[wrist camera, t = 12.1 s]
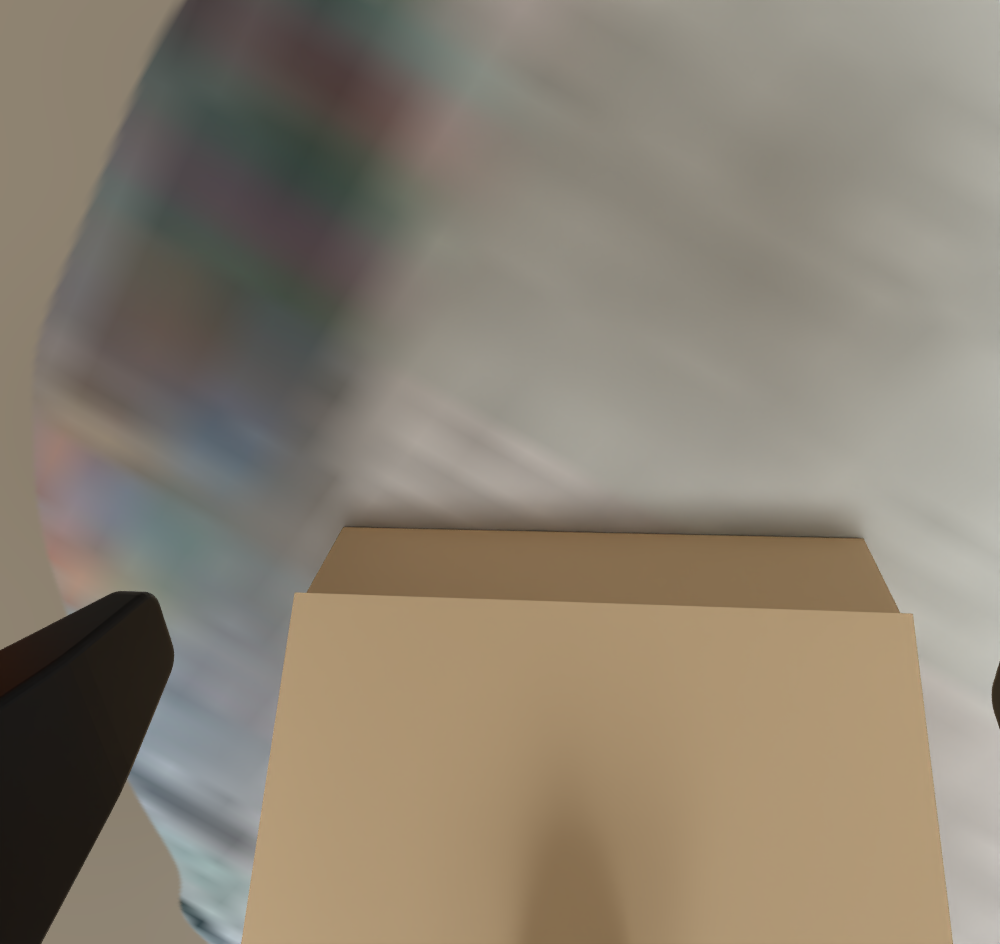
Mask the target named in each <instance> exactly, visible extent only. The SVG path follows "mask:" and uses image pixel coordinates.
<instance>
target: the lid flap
mask: <svg viewBox="0 0 1000 944" xmlns="http://www.w3.org/2000/svg"><path fill="white" fill-rule="evenodd" d="M241 944H953V940H952V932H951V924H950V916H949V907H948V899H947V891H946V883H945V875H944V866H943V858H942V850H941V842H940V834H939V825H938V817H937V809H936V801H935V792H934V784H933V776H932V768H931V760H930V751H929V743H928V735H927V727H926V719H925V710H924V702H923V694H922V686H921V678H920V669H919V661H918V653H917V645H916V636H915V628H914V620H913V614H906V613H877V612H848V611H819V610H790V609H760V608H731V607H702V606H673V605H644V604H614V603H585V602H556V601H527V600H498V599H468V598H439V597H410V596H381V595H352V594H323V593H295V594H294V601H293V607H292V614H291V620H290V627H289V634H288V640H287V647H286V653H285V660H284V666H283V673H282V679H281V686H280V693H279V699H278V706H277V712H276V719H275V725H274V732H273V739H272V745H271V752H270V758H269V765H268V771H267V778H266V785H265V791H264V798H263V804H262V811H261V817H260V824H259V830H258V837H257V844H256V850H255V857H254V863H253V870H252V876H251V883H250V890H249V896H248V903H247V909H246V916H245V922H244V929H243V936H242V942H241Z"/></svg>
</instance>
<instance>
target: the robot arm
mask: <svg viewBox="0 0 1000 944" xmlns="http://www.w3.org/2000/svg"><path fill="white" fill-rule="evenodd" d="M173 662H174V649H173V645H172V642H171V638H170V635H169V632H168V629H167V626H166V623H165V620H164V617H163V614H162V611H161V607H160V604H159V602H158V600H157V599H156V597H155V596H154V595H153V594H151V593H148V592H134V591H118V592H114V593H111V594H109V595H107V596H105V597H103V598H101V599H99V600H97V601H95V602H94V603H92V604H90V605H88V606H86V607H84V608H82V609H80V610H78V611H76V612H74V613H72V614H70V615H68V616H66V617H64V618H62V619H60V620H58V621H56V622H54V623H52V624H50V625H49V626H47V627H45V628H43V629H41V630H39V631H37V632H35V633H33V634H31V635H29V636H27V637H25V638H23V639H21V640H19V641H17V642H16V643H13V644H12V645H9V646H7V647H6V648H4V649H2V650H0V944H41V943H42V941H43V939H44V937H45V936H46V934H47V932H48V930H49V928H50V926H51V924H52V923H53V921H54V919H55V917H56V915H57V913H58V911H59V909H60V907H61V906H62V904H63V902H64V900H65V898H66V896H67V894H68V892H69V890H70V889H71V887H72V885H73V883H74V881H75V879H76V877H77V875H78V873H79V872H80V870H81V868H82V866H83V864H84V862H85V860H86V858H87V857H88V855H89V853H90V851H91V849H92V847H93V845H94V843H95V841H96V840H97V838H98V836H99V834H100V832H101V830H102V828H103V826H104V824H105V823H106V821H107V819H108V817H109V815H110V813H111V811H112V809H113V807H114V805H115V803H116V801H117V799H118V797H119V795H120V793H121V791H122V789H123V787H124V784H125V782H126V780H127V778H128V776H129V773H130V771H131V769H132V766H133V764H134V761H135V759H136V756H137V754H138V752H139V749H140V747H141V744H142V742H143V739H144V737H145V734H146V732H147V730H148V727H149V725H150V722H151V720H152V717H153V715H154V712H155V710H156V708H157V705H158V703H159V700H160V698H161V695H162V693H163V690H164V688H165V685H166V683H167V681H168V678H169V676H170V673H171V670H172V667H173ZM992 704H993V709H994V713H995V716H996V719H997V722H998V725H999V728H1000V663H999V666H998V669H997V673H996V676H995V679H994V682H993V686H992Z"/></svg>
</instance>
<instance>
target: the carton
mask: <svg viewBox="0 0 1000 944" xmlns="http://www.w3.org/2000/svg"><path fill="white" fill-rule="evenodd" d="M307 593H323V594H352V595H381V596H410V597H439V598H468V599H498V600H527V601H556V602H585V603H614V604H644V605H673V606H702V607H731V608H760V609H790V610H819V611H848V612H877V613H900V612H899V610H898V608H897V605H896V603H895V601H894V599H893V597H892V595H891V593H890V591H889V589H888V587H887V585H886V583H885V581H884V579H883V577H882V575H881V573H880V571H879V569H878V567H877V565H876V563H875V561H874V559H873V557H872V555H871V553H870V551H869V549H868V547H867V545H866V543H865V541H864V539H859V538H813V537H768V536H722V535H677V534H631V533H586V532H540V531H495V530H449V529H404V528H358V527H343V529H342V530H341V532H340V534H339V536H338V538H337V539H336V541H335V543H334V545H333V546H332V548H331V550H330V552H329V554H328V555H327V557H326V559H325V561H324V562H323V564H322V566H321V568H320V570H319V571H318V573H317V575H316V577H315V579H314V580H313V582H312V584H311V586H310V587H309V589H308V591H307Z"/></svg>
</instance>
